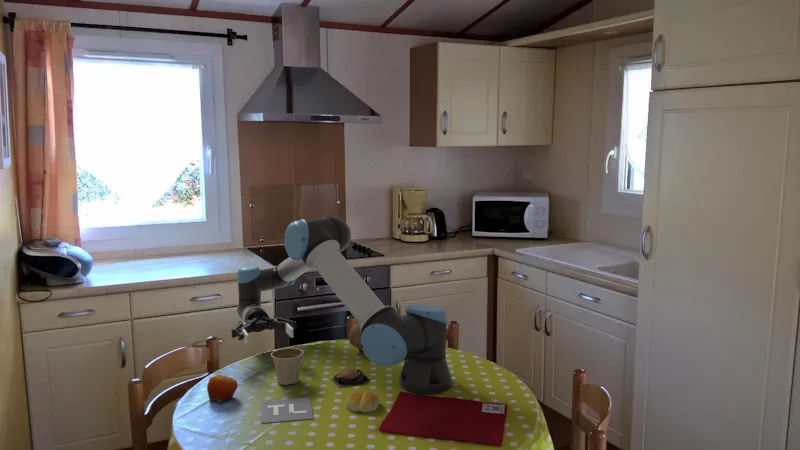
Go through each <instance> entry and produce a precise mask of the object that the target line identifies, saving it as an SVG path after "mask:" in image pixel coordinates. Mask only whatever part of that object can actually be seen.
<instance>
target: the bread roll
mask: <svg viewBox="0 0 800 450" xmlns="http://www.w3.org/2000/svg"><path fill="white" fill-rule="evenodd" d="M380 403H381V399H380V398H379V395H378V394H376V393H374V392H372V391H366V392H364V391H360V390H355V391H353V392H351V393H349V394H348V395H347V396H346V397H345V406H346V408H347V410H349V411H350V412H354V413H359V412H361V413H364V414H365V413H371V412H375V411H376V410H377V409H378V408H379V406H380Z"/></svg>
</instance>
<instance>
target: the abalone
mask: <svg viewBox="0 0 800 450" xmlns="http://www.w3.org/2000/svg"><path fill="white" fill-rule="evenodd" d="M330 381H331V382H332V383H333V384H334V385H335V386H336V387H337V388H338V389H339V388H341V389H342V388H346V387H347V388H348V387H352V386H358V385H362V384H366V383H369V382H370V381H371V379H370V378H368V376H367V375H366V374H365V373H364V372H363V371H362V370H361V369H353V368H345V369H342V370H341V371H339V372H338V373H337V374H335V375H333V377H331V378H330Z"/></svg>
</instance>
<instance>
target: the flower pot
mask: <svg viewBox="0 0 800 450" xmlns="http://www.w3.org/2000/svg"><path fill="white" fill-rule="evenodd" d="M303 355H305V351H304V350H303V349H301V348H296V347H285V348H279V349H277V350H274V351H272V352H271V353H270V356H271V359H272V361H273V363H274V368H275V374H276V381H277V383H278V384H280V385H284V386H289V385H290V384H292V385H294V384H297V383H299V381H300V372H301V363H302V359H303Z"/></svg>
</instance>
